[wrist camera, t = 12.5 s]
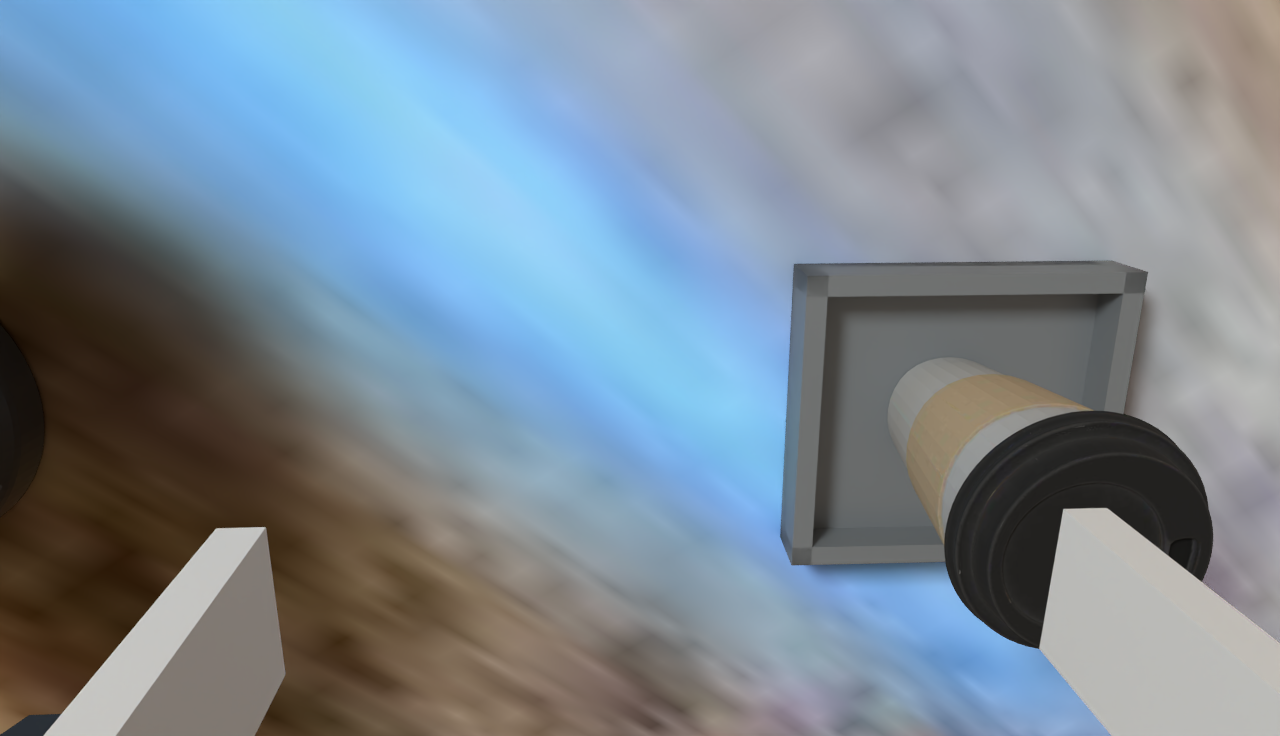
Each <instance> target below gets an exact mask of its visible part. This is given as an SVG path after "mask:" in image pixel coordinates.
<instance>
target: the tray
mask: <svg viewBox="0 0 1280 736" xmlns="http://www.w3.org/2000/svg"><path fill="white" fill-rule="evenodd" d="M1147 274H1148V272H1146V271H1143V270H1140V269H1136V268H1133V267H1130V266H1127V265H1124V264H1121V263H1118V262H1114V261H1036V262H938V263H840V264H794V273H793V293H792V313H791V333H790V354H789V374H788V394H787V414H786V434H785V454H784V474H783V494H782V514H781V534H780V537H781V540H782V542H783V545H784V547H785V550H786V552H787V555H788V557H789V560H790V562H791V565H826V564H871V563H915V562H945V554H944V545H943V543H942V541H941V539H940V537H939V535H938V533H937V531H936V530H935V528H934V526H933V524H932V522H931V520H930V518H929V516H928V514H927V513H926V511H925V509H924V507H923V505H922V503H921V501H920V499H919V497H918V496H917V494H916V492H915V490H914V488H913V486H912V483H911V480H910V478H909V475H908V470H907V468H906V466H905V464H904V462H903V460H902V458H901V456H900V454H899V453H898V451H897V449H896V447H895V445H894V443H893V441H892V438H891V435H890V433H889V428H888V422H887V419H888V407H889V402H890V398H891V396H892V393H893V391H894V388H895V387H896V385H897V384H898V382H899V381H900V379H901V378H902V377H903V376H904V375H905V374H906V373H907V372H908V371H909V370H911V369H912V368H914V367H915V366H917V365H918V364H921V363H923V362H926V361H928V360H932V359H937V358H945V357H955V358H963V359H967V360H970V361H974V362H976V363H979V364H981V365H983V366H985V367H988V368H990V369H992V370H995V371H997V372H999V373H1002V374H1004V375H1009V376H1013V377H1016V378H1020V379H1023V380H1026V381H1028V382H1030V383H1033V384H1035V385H1037V386H1040V387H1042V388H1044V389H1046V390H1049V391H1051V392H1053V393H1056V394H1058V395H1060V396H1062V397H1065V398H1067V399H1069V400H1072V401H1074V402H1076V403H1078V404H1081V405H1083V406H1085V407H1088V408H1090V409H1092V410H1094V411H1109V412H1116V413H1121V414H1124V408H1125V402H1126V396H1127V390H1128V385H1129V379H1130V373H1131V367H1132V361H1133V356H1134V350H1135V344H1136V338H1137V332H1138V327H1139V321H1140V315H1141V309H1142V303H1143V298H1144V292H1145V286H1146V280H1147Z"/></svg>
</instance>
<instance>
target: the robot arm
mask: <svg viewBox="0 0 1280 736" xmlns="http://www.w3.org/2000/svg"><path fill="white" fill-rule="evenodd" d="M43 444H44V417H43V409H42V404H41V399H40V395H39V391H38V388H37V386H36V383H35V380H34V377H33V375H32V373H31V370H30V368H29V366H28V364H27V362H26V360H25V359H24V357H23V355H22V354H21V352H20V350H19V349H18V347H17V346H16V344H15V343H14V341H13V340H12V338H11V337H10V336H9V335H8V333H7V332H6V331H5V330H4V328H3V327H2V326H1V325H0V517H1V516H2V515H3V514H5V513H6V512H7V511H8V510H9V509H11V508H12V507H13V506H14V505H15V504H16V503H17V501H18V500H19V499H20V498H21V497H22V496H23V494H24V493H25V491H26V490H27V489H28V487H29V485H30V483H31V482H32V480H33V478H34V476H35V473H36V471H37V468H38V466H39V463H40V459H41V455H42V450H43ZM1039 649H1040V650H1041V651H1042V653H1043V654H1044V655H1045V656H1046V657H1047V659H1048V660H1049V661H1050V662H1051V663H1052V665H1053V666H1054V667H1055V668H1056V669H1057V671H1058V672H1059V673H1060V674H1061V675H1062V677H1063V678H1064V679H1065V680H1066V681H1067V683H1068V684H1069V685H1070V686H1071V687H1072V689H1073V690H1074V691H1075V692H1076V693H1077V695H1078V696H1079V697H1080V698H1081V699H1082V701H1083V702H1084V703H1085V704H1086V706H1087V707H1088V708H1089V709H1090V710H1091V712H1092V713H1093V714H1094V715H1095V716H1096V718H1097V719H1098V720H1099V721H1100V722H1101V724H1102V725H1103V726H1104V727H1105V728H1106V730H1107V731H1108V732H1109V733H1110V734H1111V736H1280V643H1279V642H1278V641H1276V640H1275V639H1274V638H1272V637H1271V636H1270V635H1269V634H1267V633H1266V632H1265V631H1264V630H1262V629H1261V628H1260V627H1258V626H1257V625H1256V624H1255V623H1253V622H1252V621H1251V620H1249V619H1248V618H1247V617H1246V616H1244V615H1243V614H1242V613H1241V612H1239V611H1238V610H1237V609H1235V608H1234V607H1233V606H1232V605H1230V604H1229V603H1228V602H1226V601H1225V600H1224V599H1223V598H1221V597H1220V596H1219V595H1218V594H1216V593H1215V592H1214V591H1212V590H1211V589H1210V588H1209V587H1207V586H1206V585H1205V584H1203V583H1202V582H1201V581H1200V580H1198V579H1197V578H1196V577H1195V576H1193V575H1192V574H1191V573H1189V572H1188V571H1187V570H1186V569H1184V568H1183V567H1182V566H1180V565H1179V564H1178V563H1177V562H1175V561H1174V560H1173V559H1172V558H1170V557H1169V556H1168V555H1166V554H1165V553H1164V552H1163V551H1161V550H1160V549H1159V548H1157V547H1156V546H1155V545H1154V544H1152V543H1151V542H1150V541H1149V540H1147V539H1146V538H1145V537H1143V536H1142V535H1141V534H1140V533H1138V532H1137V531H1136V530H1134V529H1133V528H1132V527H1131V526H1129V525H1128V524H1127V523H1126V522H1124V521H1123V520H1122V519H1120V518H1119V517H1118V516H1117V515H1115V514H1114V513H1113V512H1111V511H1110V510H1109V509H1108V508H1082V509H1063V514H1062V520H1061V526H1060V531H1059V537H1058V543H1057V549H1056V554H1055V560H1054V566H1053V572H1052V577H1051V583H1050V589H1049V595H1048V601H1047V606H1046V612H1045V618H1044V624H1043V629H1042V635H1041V641H1040V647H1039ZM285 675H286V673H285V666H284V658H283V651H282V643H281V636H280V628H279V621H278V613H277V606H276V598H275V591H274V583H273V576H272V568H271V561H270V553H269V546H268V538H267V531H266V527H252V528H216V529H215V530H214V532H213V533H212V534H211V535H210V536H209V538H208V539H207V540H206V541H205V542H204V544H203V545H202V546H201V547H200V548H199V550H198V551H197V552H196V553H195V554H194V556H193V557H192V558H191V559H190V560H189V562H188V563H187V564H186V565H185V566H184V568H183V569H182V570H181V571H180V572H179V574H178V575H177V576H176V577H175V578H174V580H173V581H172V582H171V583H170V584H169V586H168V587H167V588H166V589H165V590H164V592H163V593H162V594H161V595H160V596H159V598H158V599H157V600H156V601H155V602H154V604H153V605H152V606H151V607H150V608H149V610H148V611H147V612H146V613H145V614H144V616H143V617H142V618H141V619H140V620H139V622H138V623H137V624H136V625H135V626H134V628H133V629H132V630H131V631H130V632H129V634H128V635H127V636H126V637H125V638H124V640H123V641H122V642H121V643H120V644H119V646H118V647H117V648H116V649H115V650H114V652H113V653H112V654H111V655H110V656H109V658H108V659H107V660H106V661H105V662H104V664H103V665H102V666H101V667H100V668H99V670H98V671H97V672H96V673H95V674H94V676H93V677H92V678H91V679H90V680H89V682H88V683H87V684H86V685H85V686H84V688H83V689H82V690H81V691H80V692H79V694H78V695H77V696H76V697H75V698H74V700H73V701H72V702H71V703H70V704H69V706H68V707H67V708H66V709H65V710H64V712H63V713H62V714H51V715H29V716H27V717H26V718H24V719H23V720H22V721H20V722H19V723H17V724H16V725H14V726H13V727H11V728H10V729H8V730H7V731H5V732H4V733H2V734H1V735H0V736H255V734H256V732H257V730H258V728H259V726H260V724H261V722H262V720H263V718H264V716H265V714H266V712H267V710H268V708H269V706H270V704H271V702H272V700H273V698H274V696H275V694H276V692H277V690H278V689H279V687H280V685H281V683H282V681H283V679H284V677H285Z"/></svg>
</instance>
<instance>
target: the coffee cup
mask: <svg viewBox="0 0 1280 736" xmlns="http://www.w3.org/2000/svg"><path fill="white" fill-rule="evenodd" d="M887 422H888V428H889V433H890V435H891V438H892V441H893V443H894V445H895V447H896V449H897V451H898V453H899V454H900V456H901V458H902V460H903V462H904V464H905V466H906V468H907V470H908V475H909V478H910V480H911V483H912V486H913V488H914V490H915V492H916V494H917V496H918V497H919V499H920V501H921V503H922V505H923V507H924V509H925V511H926V513H927V514H928V516H929V518H930V520H931V522H932V524H933V526H934V528H935V530H936V531H937V533H938V535H939V537H940V539H941V541H942V543H943V545H944V554H945V562H946V567H947V571H948V575H949V578H950V580H951V583H952V585H953V587H954V589H955V591H956V593H957V595H958V596H959V598H960V599H961V601H962V602H963V603H964V604H965V606H966V607H967V608H968V609H969V610H970V611H971V612H972V613H973V614H974V615H975V616H976V617H977V618H979V619H980V620H981V621H982V622H984V623H985V624H986V625H987V626H989V627H990V628H991V629H992V630H994V631H995V632H997V633H998V634H1000V635H1001V636H1003V637H1005V638H1007V639H1009V640H1011V641H1014V642H1016V643H1019V644H1022V645H1025V646H1029V647H1033V648H1038V649H1039V647H1040V641H1041V635H1042V629H1043V624H1044V618H1045V612H1046V606H1047V601H1048V595H1049V589H1050V583H1051V577H1052V572H1053V566H1054V560H1055V554H1056V549H1057V543H1058V537H1059V531H1060V526H1061V520H1062V514H1063V509H1082V508H1108V509H1109V510H1110V511H1111V512H1113V513H1114V514H1115V515H1117V516H1118V517H1119V518H1120V519H1122V520H1123V521H1124V522H1126V523H1127V524H1128V525H1129V526H1131V527H1132V528H1133V529H1134V530H1136V531H1137V532H1138V533H1140V534H1141V535H1142V536H1143V537H1145V538H1146V539H1147V540H1149V541H1150V542H1151V543H1152V544H1154V545H1155V546H1156V547H1157V548H1159V549H1160V550H1161V551H1163V552H1164V553H1165V554H1166V555H1168V556H1169V557H1170V558H1172V559H1173V560H1174V561H1175V562H1177V563H1178V564H1179V565H1180V566H1182V567H1183V568H1184V569H1186V570H1187V571H1188V572H1189V573H1191V574H1192V575H1193V576H1195V577H1196V578H1197V579H1198V580H1200V581H1201V582H1202V580H1203V578H1204V576H1205V573H1206V571H1207V568H1208V565H1209V561H1210V558H1211V553H1212V546H1213V527H1212V520H1211V516H1210V512H1209V509H1208V501H1207V496H1206V492H1205V488H1204V485H1203V483H1202V480H1201V478H1200V476H1199V474H1198V472H1197V470H1196V468H1195V467H1194V465H1193V464H1192V462H1191V461H1190V460H1189V458H1188V457H1187V456H1186V455H1185V454H1184V453H1183V452H1182V451H1181V450H1180V449H1179V448H1178V446H1177V445H1176V444H1175V443H1174V442H1173V441H1172V440H1171V439H1170V438H1169V437H1168V436H1167V435H1165V434H1164V433H1163V432H1161V431H1160V430H1159V429H1157V428H1156V427H1154V426H1152V425H1151V424H1149V423H1147V422H1144V421H1142V420H1140V419H1138V418H1135V417H1132V416H1129V415H1125V414H1121V413H1116V412H1109V411H1094V410H1092V409H1090V408H1088V407H1085V406H1083V405H1081V404H1078V403H1076V402H1074V401H1072V400H1069V399H1067V398H1065V397H1062V396H1060V395H1058V394H1056V393H1053V392H1051V391H1049V390H1046V389H1044V388H1042V387H1040V386H1037V385H1035V384H1033V383H1030V382H1028V381H1026V380H1023V379H1020V378H1016V377H1013V376H1009V375H1004V374H1002V373H999V372H997V371H995V370H992V369H990V368H988V367H985V366H983V365H981V364H979V363H976V362H974V361H970V360H967V359H963V358H955V357H945V358H937V359H932V360H928V361H926V362H923V363H921V364H918V365H917V366H915V367H914V368H912V369H911V370H909V371H908V372H907V373H906V374H905V375H904V376H903V377H902V378H901V379H900V381H899V382H898V384H897V385H896V387H895V388H894V391H893V393H892V396H891V398H890V402H889V407H888V419H887Z"/></svg>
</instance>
